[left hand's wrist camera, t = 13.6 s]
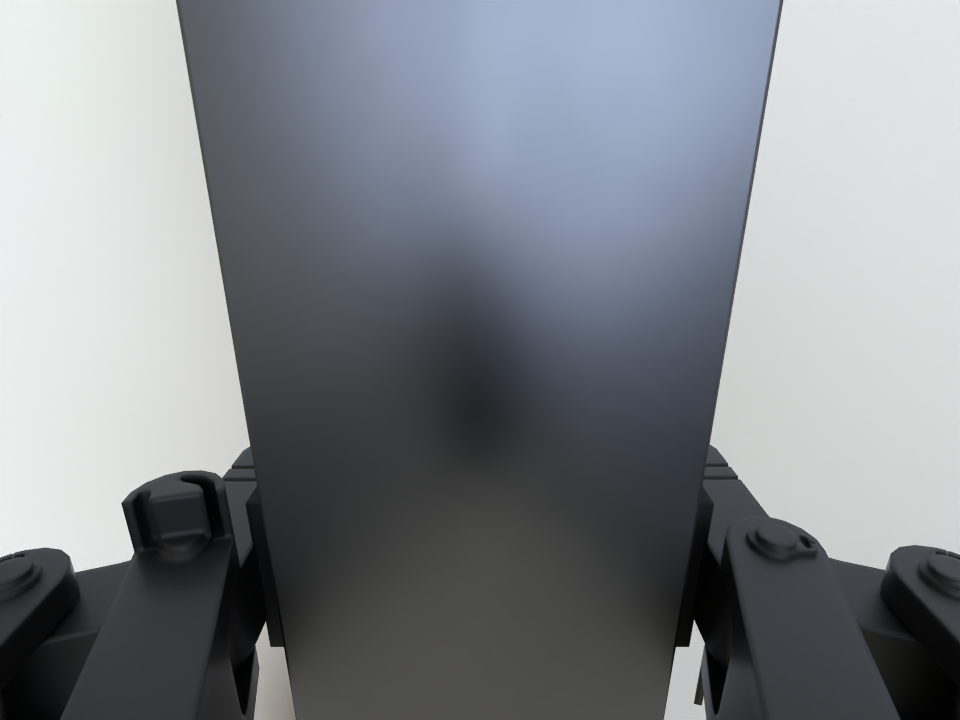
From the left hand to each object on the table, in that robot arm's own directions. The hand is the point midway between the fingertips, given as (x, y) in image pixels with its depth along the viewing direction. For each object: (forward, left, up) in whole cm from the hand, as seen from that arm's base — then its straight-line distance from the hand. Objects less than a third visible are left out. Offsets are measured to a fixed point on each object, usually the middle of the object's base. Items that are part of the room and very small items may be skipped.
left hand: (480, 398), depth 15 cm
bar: (+8, 0, -1) cm, 8 cm away
